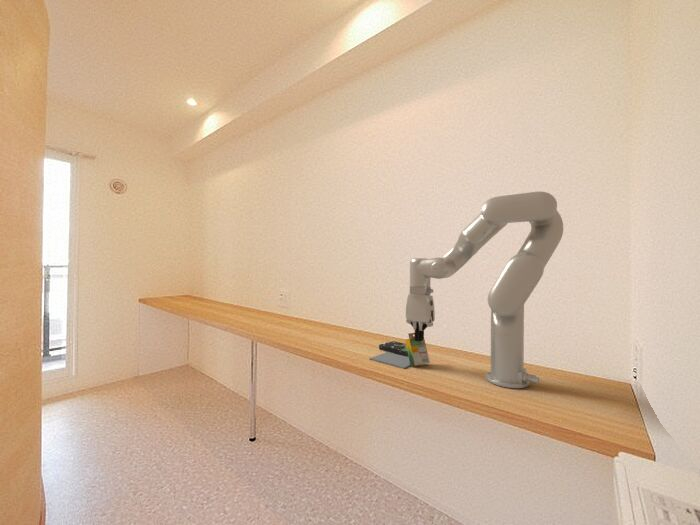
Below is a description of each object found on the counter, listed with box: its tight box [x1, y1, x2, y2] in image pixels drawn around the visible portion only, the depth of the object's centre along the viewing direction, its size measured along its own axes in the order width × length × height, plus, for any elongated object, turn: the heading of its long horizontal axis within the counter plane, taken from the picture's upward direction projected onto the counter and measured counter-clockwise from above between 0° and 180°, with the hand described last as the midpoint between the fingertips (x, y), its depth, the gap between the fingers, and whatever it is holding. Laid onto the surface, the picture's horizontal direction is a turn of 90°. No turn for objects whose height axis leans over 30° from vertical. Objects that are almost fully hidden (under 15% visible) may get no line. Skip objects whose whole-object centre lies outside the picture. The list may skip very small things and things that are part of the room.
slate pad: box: [369, 351, 411, 370], centre depth 120 cm, size 16×12×1 cm
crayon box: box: [404, 332, 431, 367], centre depth 115 cm, size 7×3×12 cm, turn 118°
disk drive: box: [378, 340, 409, 357], centre depth 134 cm, size 10×3×15 cm
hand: (419, 340), depth 114 cm, fingers closed
